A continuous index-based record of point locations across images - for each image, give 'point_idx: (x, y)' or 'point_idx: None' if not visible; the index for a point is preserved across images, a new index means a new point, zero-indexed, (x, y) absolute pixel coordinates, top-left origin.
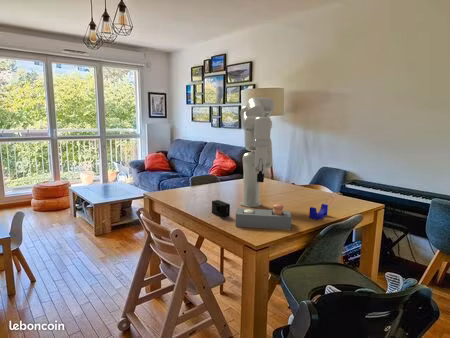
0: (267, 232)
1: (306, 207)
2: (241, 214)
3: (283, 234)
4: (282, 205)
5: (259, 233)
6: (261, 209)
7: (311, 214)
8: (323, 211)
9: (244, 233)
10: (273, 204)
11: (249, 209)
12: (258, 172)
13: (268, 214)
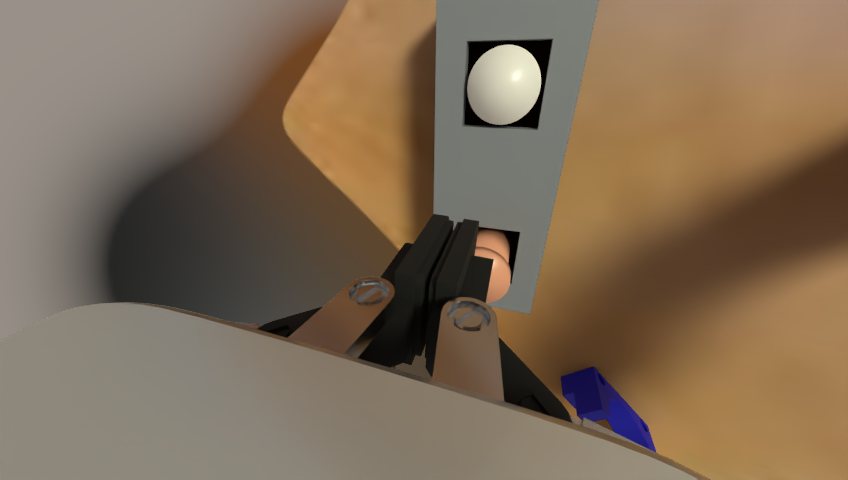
0: (399, 175)
1: (786, 419)
2: (436, 34)
3: (392, 230)
4: None
5: (382, 140)
6: (559, 177)
7: (586, 384)
8: (621, 435)
9: (366, 68)
10: (494, 258)
11: (537, 91)
12: (341, 304)
13: (458, 206)
